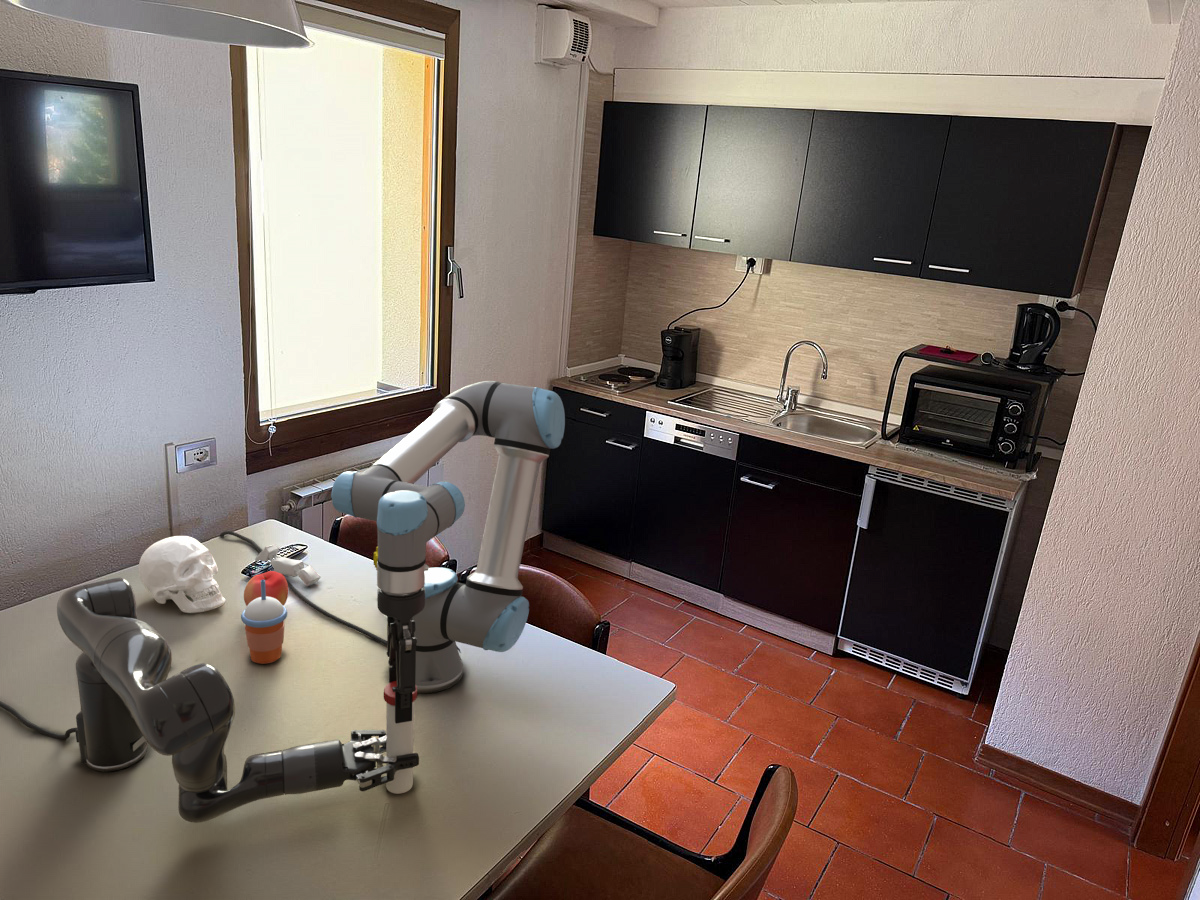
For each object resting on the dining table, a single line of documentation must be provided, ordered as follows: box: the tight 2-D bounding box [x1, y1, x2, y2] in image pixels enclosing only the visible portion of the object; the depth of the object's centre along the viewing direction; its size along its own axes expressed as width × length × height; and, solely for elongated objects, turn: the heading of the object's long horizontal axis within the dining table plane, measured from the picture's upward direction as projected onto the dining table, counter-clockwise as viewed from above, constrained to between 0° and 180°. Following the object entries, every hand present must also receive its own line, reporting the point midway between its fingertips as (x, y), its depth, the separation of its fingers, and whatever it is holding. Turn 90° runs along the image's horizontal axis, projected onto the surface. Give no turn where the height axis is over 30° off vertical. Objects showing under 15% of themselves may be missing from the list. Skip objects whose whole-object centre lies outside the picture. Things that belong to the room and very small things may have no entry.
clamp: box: [254, 544, 322, 587], centre depth 219 cm, size 20×4×7 cm, turn 62°
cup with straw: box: [240, 580, 288, 665], centre depth 181 cm, size 9×9×18 cm
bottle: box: [385, 701, 415, 795], centre depth 146 cm, size 4×4×19 cm
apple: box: [243, 570, 289, 607], centre depth 199 cm, size 10×10×10 cm
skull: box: [138, 535, 226, 614], centre depth 202 cm, size 13×22×16 cm, turn 73°
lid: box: [383, 681, 418, 706], centre depth 143 cm, size 6×6×2 cm
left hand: (415, 749), depth 148 cm, fingers closed on bottle, 4 cm apart
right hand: (400, 710), depth 144 cm, fingers closed on lid, 5 cm apart
